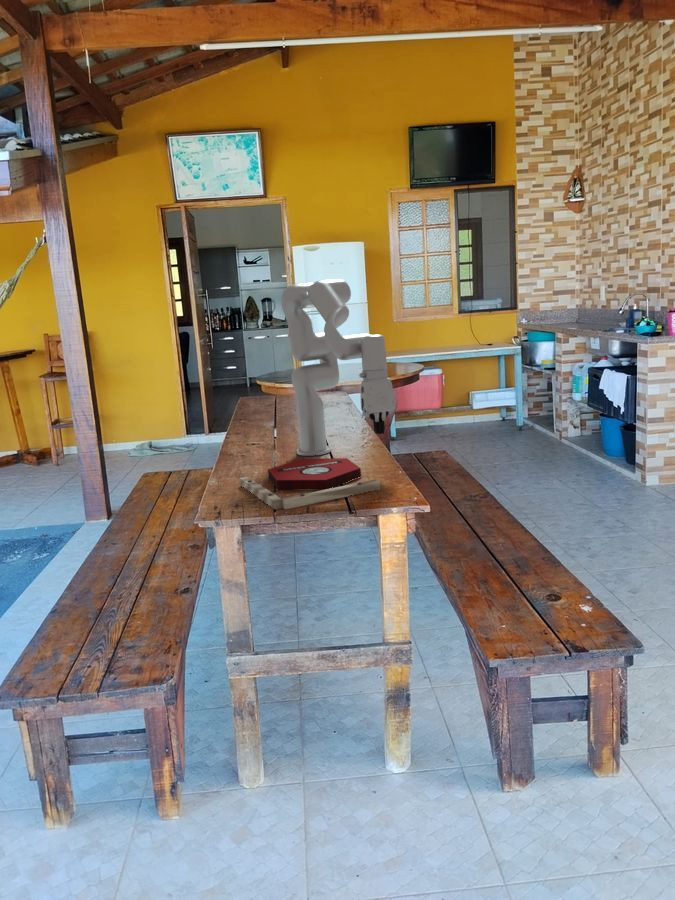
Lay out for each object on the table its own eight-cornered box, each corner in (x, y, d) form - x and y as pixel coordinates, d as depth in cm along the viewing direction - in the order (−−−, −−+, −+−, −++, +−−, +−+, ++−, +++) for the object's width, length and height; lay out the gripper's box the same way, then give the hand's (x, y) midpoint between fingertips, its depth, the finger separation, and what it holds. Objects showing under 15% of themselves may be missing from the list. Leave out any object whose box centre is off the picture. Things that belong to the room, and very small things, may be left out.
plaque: (264, 474, 242) (283, 498, 214) (263, 464, 242) (282, 486, 213) (341, 463, 249) (369, 484, 221) (340, 453, 249) (368, 473, 220)
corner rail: (240, 486, 229) (239, 477, 228) (333, 468, 242) (333, 460, 241) (277, 511, 201) (276, 501, 200) (380, 489, 214) (379, 480, 213)
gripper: (359, 379, 220) (364, 438, 224) (402, 372, 226) (406, 431, 230) (348, 377, 227) (353, 435, 231) (390, 371, 233) (394, 428, 237)
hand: (379, 433), depth 230 cm, fingers closed
